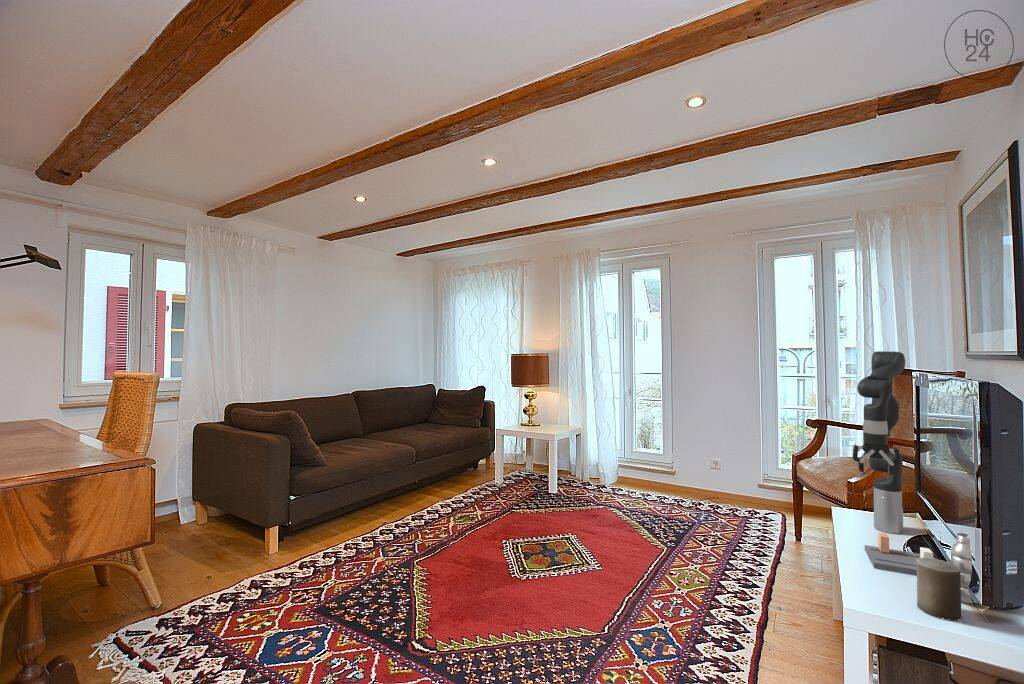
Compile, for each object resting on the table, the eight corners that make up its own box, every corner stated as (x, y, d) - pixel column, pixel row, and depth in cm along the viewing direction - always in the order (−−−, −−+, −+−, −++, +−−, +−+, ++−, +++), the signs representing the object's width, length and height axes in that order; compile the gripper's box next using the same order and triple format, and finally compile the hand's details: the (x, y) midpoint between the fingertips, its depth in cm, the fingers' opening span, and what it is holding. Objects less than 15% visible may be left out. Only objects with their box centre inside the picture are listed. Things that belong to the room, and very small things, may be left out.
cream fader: (923, 568, 158) (923, 551, 158) (920, 563, 162) (920, 547, 162) (933, 569, 157) (933, 553, 157) (929, 564, 161) (929, 548, 161)
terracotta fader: (880, 551, 171) (880, 536, 171) (878, 547, 174) (878, 532, 174) (889, 553, 170) (889, 537, 170) (886, 548, 173) (886, 533, 173)
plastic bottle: (987, 608, 138) (986, 540, 139) (960, 606, 140) (960, 539, 140) (970, 596, 145) (969, 532, 145) (945, 594, 146) (944, 530, 146)
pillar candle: (965, 625, 130) (965, 571, 130) (919, 613, 136) (919, 561, 136) (956, 609, 138) (956, 558, 138) (913, 598, 144) (913, 550, 144)
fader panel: (874, 568, 163) (874, 562, 163) (864, 550, 177) (864, 544, 177) (949, 581, 154) (949, 575, 154) (933, 561, 168) (933, 555, 168)
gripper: (895, 431, 180) (896, 473, 180) (850, 428, 186) (851, 468, 187) (901, 434, 173) (902, 478, 173) (854, 432, 180) (855, 474, 180)
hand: (875, 473), depth 180 cm, fingers open, 8 cm apart
